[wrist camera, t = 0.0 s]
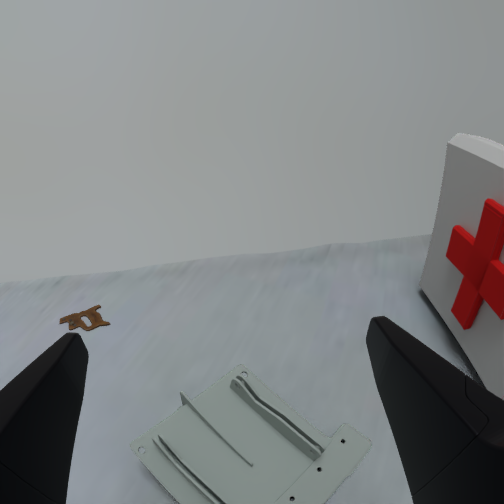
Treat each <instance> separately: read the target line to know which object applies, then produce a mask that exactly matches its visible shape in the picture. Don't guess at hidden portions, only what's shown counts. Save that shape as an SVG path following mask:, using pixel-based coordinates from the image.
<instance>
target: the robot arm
mask: <svg viewBox="0 0 504 504" xmlns="http://www.w3.org/2000/svg"><path fill="white" fill-rule="evenodd" d="M366 344H367V348H368V352H369V356H370V361H371V365H372V369H373V373H374V378H375V382H376V385H377V389H378V392H379V394H380V397H381V400H382V403H383V406H384V409H385V412H386V415H387V418H388V421H389V424H390V427H391V430H392V433H393V436H394V439H395V442H396V445H397V448H398V452H399V455H400V458H401V461H402V465H403V468H404V471H405V475H406V478H407V481H408V485H409V488H410V492H411V495H412V500H413V503H414V504H504V400H503V399H501V398H500V397H498V396H496V395H495V394H493V393H492V392H490V391H488V390H487V389H485V388H484V387H483V386H481V385H480V384H478V383H477V382H475V381H474V380H473V379H471V378H470V377H469V376H467V375H465V374H464V373H463V372H462V371H460V370H459V369H458V368H456V367H455V366H454V365H452V364H451V363H449V362H448V361H447V360H445V359H444V358H443V357H441V356H440V355H438V354H437V353H436V352H434V351H433V350H431V349H430V348H429V347H427V346H426V345H425V344H423V343H422V342H420V341H419V340H418V339H416V338H415V337H413V336H412V335H411V334H409V333H408V332H406V331H405V330H404V329H402V328H401V327H399V326H398V325H397V324H395V323H394V322H392V321H391V320H390V319H388V318H387V317H385V316H379V317H373V318H372V319H371V321H370V324H369V328H368V332H367V336H366ZM88 357H89V356H88V351H87V348H86V346H85V344H84V342H83V340H82V338H81V336H80V335H79V334H78V333H66V334H65V335H63V336H62V337H61V338H60V339H59V340H58V341H56V342H55V343H54V344H53V345H52V346H50V347H49V348H48V349H47V350H46V351H45V352H43V353H42V354H41V355H40V356H39V357H38V358H37V359H35V360H34V361H33V362H32V363H31V364H30V365H29V366H27V367H26V368H25V369H24V370H23V371H22V372H21V373H19V374H18V375H17V376H16V377H15V378H14V379H13V380H12V381H10V382H9V383H8V384H7V385H6V386H5V387H4V388H3V389H2V390H1V391H0V504H66V497H67V489H68V481H69V473H70V466H71V460H72V454H73V448H74V442H75V436H76V431H77V426H78V421H79V416H80V411H81V406H82V401H83V396H84V388H85V380H86V372H87V365H88Z"/></svg>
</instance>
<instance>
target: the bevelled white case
mask: <svg viewBox="0 0 504 504" xmlns="http://www.w3.org/2000/svg"><path fill="white" fill-rule="evenodd" d="M419 286H420V287H421V289H422V290H423V291H424V293H425V294H426V295H427V297H428V298H429V300H430V301H431V303H432V304H433V305H434V307H435V308H436V310H437V311H438V313H439V314H440V315H441V317H442V318H443V320H444V321H445V323H446V324H447V326H448V327H449V329H450V330H451V332H452V333H453V335H454V336H455V338H456V339H457V341H458V342H459V344H460V346H461V347H462V349H463V350H464V352H465V353H466V355H467V357H468V358H469V360H470V362H471V363H472V365H473V366H474V368H475V370H476V371H477V373H478V375H479V376H480V378H481V380H482V382H483V383H484V385H485V387H486V389H487V390H488V391H490V392H492V393H493V394H495V395H496V396H498V397H500V398H501V399H503V400H504V145H502V144H500V143H497V142H494V141H492V140H490V139H487V138H484V137H479V136H474V135H468V134H463V133H458V134H457V135H455V136H454V137H453V138H452V139H451V140H450V141H449V142H448V143H447V151H446V159H445V167H444V173H443V180H442V187H441V192H440V198H439V203H438V209H437V214H436V219H435V224H434V228H433V233H432V237H431V241H430V246H429V250H428V254H427V258H426V262H425V265H424V269H423V273H422V277H421V280H420V284H419Z"/></svg>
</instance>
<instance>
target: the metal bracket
mask: <svg viewBox="0 0 504 504" xmlns="http://www.w3.org/2000/svg"><path fill="white" fill-rule="evenodd" d="M243 372H245V373H246V374H247V377H244V376H243V375H241V373H243ZM180 395H181V400H182V404H183V406H180V407H179V408H178V409H177V411H176V412H175V413H173V414H172V415H170V416H169V417H167V418H166V419H165V420H163V421H162V422H160V423H159V424H157V425H156V426H154V427H153V428H151V429H150V430H149V431H147V432H146V433H144V434H143V435H141V436H140V437H138V438H137V439H135V440H134V441H132V442H131V443H130V448H131V449H132V451H133V452H134V453H135V454H136V456H137V457H138V458H139V459H140V460H141V462H142V463H143V464H144V465H145V466H146V467H147V469H148V470H149V471H150V472H151V473H152V474H153V475H154V476H155V478H156V479H157V480H158V481H159V482H160V483H161V484H162V485H163V486H164V487H165V488H166V490H167V491H168V492H169V493H170V494H171V495H172V496H173V497H174V498H175V499H176V500H177V501H178V502H179V503H180V504H325V503H326V502H327V500H328V499H329V498H330V497H331V496H332V495H333V493H334V492H335V491H336V490H337V489H338V487H339V486H340V485H341V484H342V483H343V481H344V480H345V479H346V478H347V477H348V476H351V475H352V473H353V472H354V471H355V469H356V468H357V467H358V465H359V464H360V463H361V461H362V460H363V459H364V457H365V456H366V455H367V453H368V452H369V450H370V449H371V447H372V444H371V442H370V440H369V439H368V438H366V437H365V436H364V435H362V434H361V433H360V432H358V431H357V430H356V429H355V428H353V427H352V426H351V425H349V424H343V425H341V426H340V427H339V429H338V430H337V431H336V432H335V434H334V435H333V436H332V437H329V438H328V437H326V436H325V435H324V434H323V433H321V432H320V431H319V430H318V429H316V428H315V427H314V426H313V425H312V424H310V423H309V422H308V421H307V420H306V419H304V418H303V417H302V416H301V415H300V414H298V413H297V412H296V411H295V410H294V409H293V408H291V407H290V406H289V405H288V404H287V403H286V402H284V401H283V400H282V399H281V398H280V397H279V396H278V395H276V394H275V393H274V392H273V391H272V390H271V389H270V388H269V387H267V386H266V385H265V384H264V383H263V382H262V381H261V380H260V379H258V378H257V377H256V376H255V375H254V374H253V373H252V372H251V371H250V370H249V369H248V368H246V367H245V366H244V365H242V364H240V365H238V366H236V367H235V368H234V369H233V370H231V371H230V372H229V373H227V374H226V375H225V376H223V377H222V378H221V379H220V380H218V381H217V382H216V383H214V384H213V385H212V386H210V387H209V388H208V389H206V390H205V391H204V392H202V393H201V394H199V395H198V396H197V397H195V398H194V399H193V400H190V398H189V397H188V396H187V395H186V394H185V393H184V392H183V391H182V392H180ZM341 440H344V443H341ZM141 447H144V448H145V449H146V452H145V453H143V454H141V453H139V448H141ZM317 468H321V472H318V471H317ZM290 497H294V501H290Z"/></svg>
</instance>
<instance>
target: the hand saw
mask: <svg viewBox="0 0 504 504" xmlns="http://www.w3.org/2000/svg"><path fill="white" fill-rule="evenodd" d="M99 308H101V306H100V305H97V306H94V307H92V308H90V309H88V310H86V311H82V312H80V313H74V314H71V315H68V316H65V317H63V318H61V319H60V324H62V323H65V322H68V323H69V330H73V329H76V328H78V327H81V328H82V329H84V330H86V331H90V330H93V329H95V328H97V327H99V326H107V325H110V323H109V322H106V321H103V320H102V317H101V315H100V314H99V313H98V312H96V310H97V309H99ZM83 316H86V317H87V318H88V319H89V320H90V321H91V323H92V325H91V326H90V327H87V326H86V324H85V323H84V322H83V321H82V320H81V317H83Z"/></svg>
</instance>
